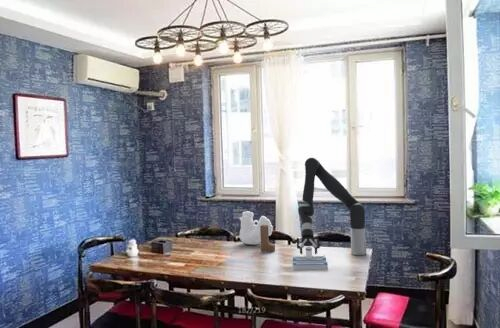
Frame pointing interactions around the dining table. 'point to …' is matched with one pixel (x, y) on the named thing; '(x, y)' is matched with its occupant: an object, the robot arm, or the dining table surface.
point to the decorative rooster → (252, 228)
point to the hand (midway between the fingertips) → (308, 253)
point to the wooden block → (266, 240)
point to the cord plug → (308, 253)
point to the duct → (309, 262)
